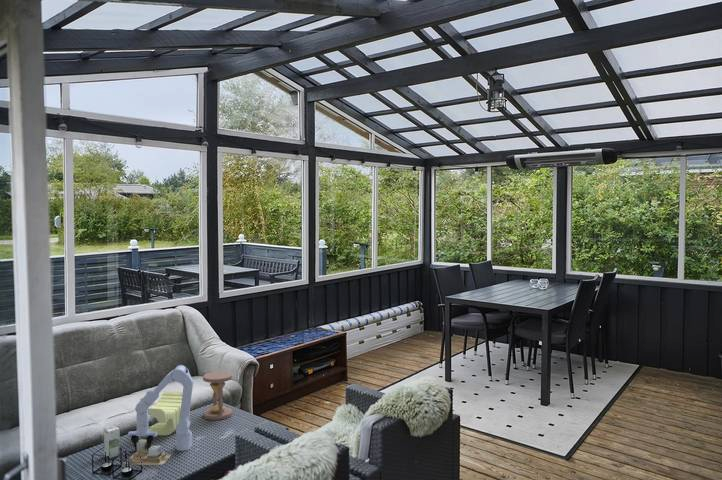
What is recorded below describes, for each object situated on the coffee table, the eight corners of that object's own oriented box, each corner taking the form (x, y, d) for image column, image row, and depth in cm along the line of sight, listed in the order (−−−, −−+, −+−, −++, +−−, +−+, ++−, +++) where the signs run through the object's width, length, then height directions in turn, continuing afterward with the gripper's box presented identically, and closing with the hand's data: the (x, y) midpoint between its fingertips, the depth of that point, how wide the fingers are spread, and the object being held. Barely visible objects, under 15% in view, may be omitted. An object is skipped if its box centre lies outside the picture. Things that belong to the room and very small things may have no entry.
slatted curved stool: (165, 441, 303) (165, 409, 302) (138, 440, 305) (138, 408, 304) (189, 421, 333) (189, 392, 332) (164, 420, 334) (164, 391, 334)
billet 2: (152, 457, 281) (152, 445, 280) (161, 457, 280) (160, 445, 280) (148, 460, 276) (148, 449, 276) (157, 461, 276) (157, 449, 276)
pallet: (134, 455, 285) (134, 449, 285) (172, 455, 285) (172, 450, 284) (122, 466, 272) (122, 460, 272) (162, 467, 272) (162, 461, 272)
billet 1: (140, 450, 291) (140, 439, 291) (148, 450, 291) (148, 439, 291) (136, 454, 287) (136, 442, 286) (145, 454, 286) (145, 442, 286)
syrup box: (114, 452, 288) (113, 425, 288) (120, 455, 284) (119, 427, 284) (103, 456, 284) (103, 428, 283) (109, 459, 280) (108, 431, 280)
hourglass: (202, 411, 350) (202, 372, 349) (231, 409, 355) (231, 370, 354) (203, 421, 333) (203, 380, 332) (233, 418, 338) (233, 377, 337)
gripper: (125, 426, 284) (125, 452, 285) (153, 427, 284) (153, 453, 284) (131, 421, 291) (131, 447, 292) (158, 422, 291) (158, 447, 291)
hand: (142, 449), depth 289 cm, fingers open, 6 cm apart
